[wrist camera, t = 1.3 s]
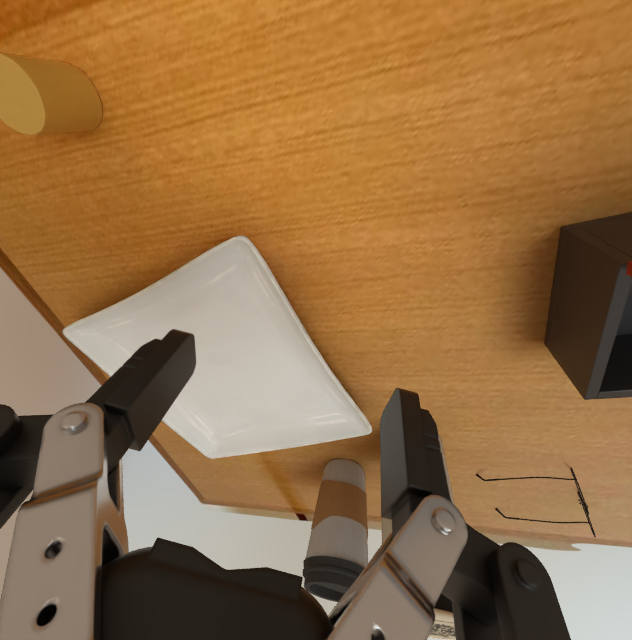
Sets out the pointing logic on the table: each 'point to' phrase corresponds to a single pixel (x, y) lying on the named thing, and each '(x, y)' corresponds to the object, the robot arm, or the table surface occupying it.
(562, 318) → the open box
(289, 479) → the table surface
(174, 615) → the robot arm
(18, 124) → the mustard yellow cylinder
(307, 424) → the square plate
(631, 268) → the box lid
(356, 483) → the coffee cup
